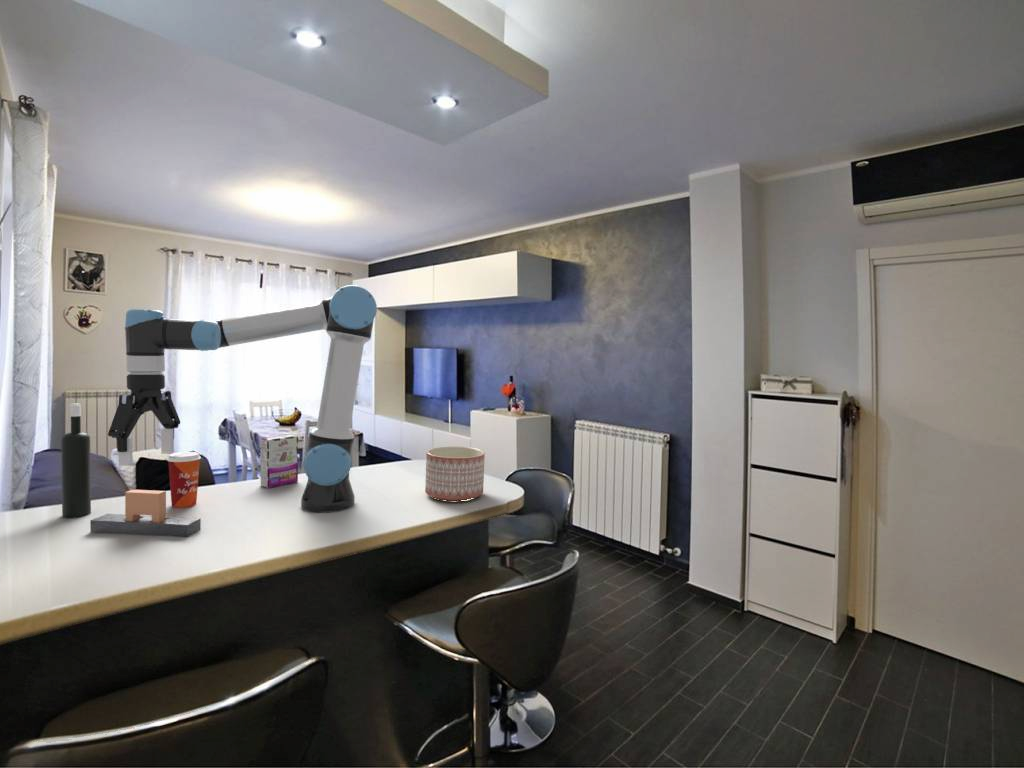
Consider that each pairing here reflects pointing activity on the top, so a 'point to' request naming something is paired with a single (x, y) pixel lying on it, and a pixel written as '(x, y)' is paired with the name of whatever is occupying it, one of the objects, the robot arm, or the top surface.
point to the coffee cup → (183, 478)
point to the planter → (454, 473)
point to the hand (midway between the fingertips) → (147, 459)
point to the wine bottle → (76, 468)
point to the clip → (145, 505)
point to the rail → (146, 525)
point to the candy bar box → (279, 460)
